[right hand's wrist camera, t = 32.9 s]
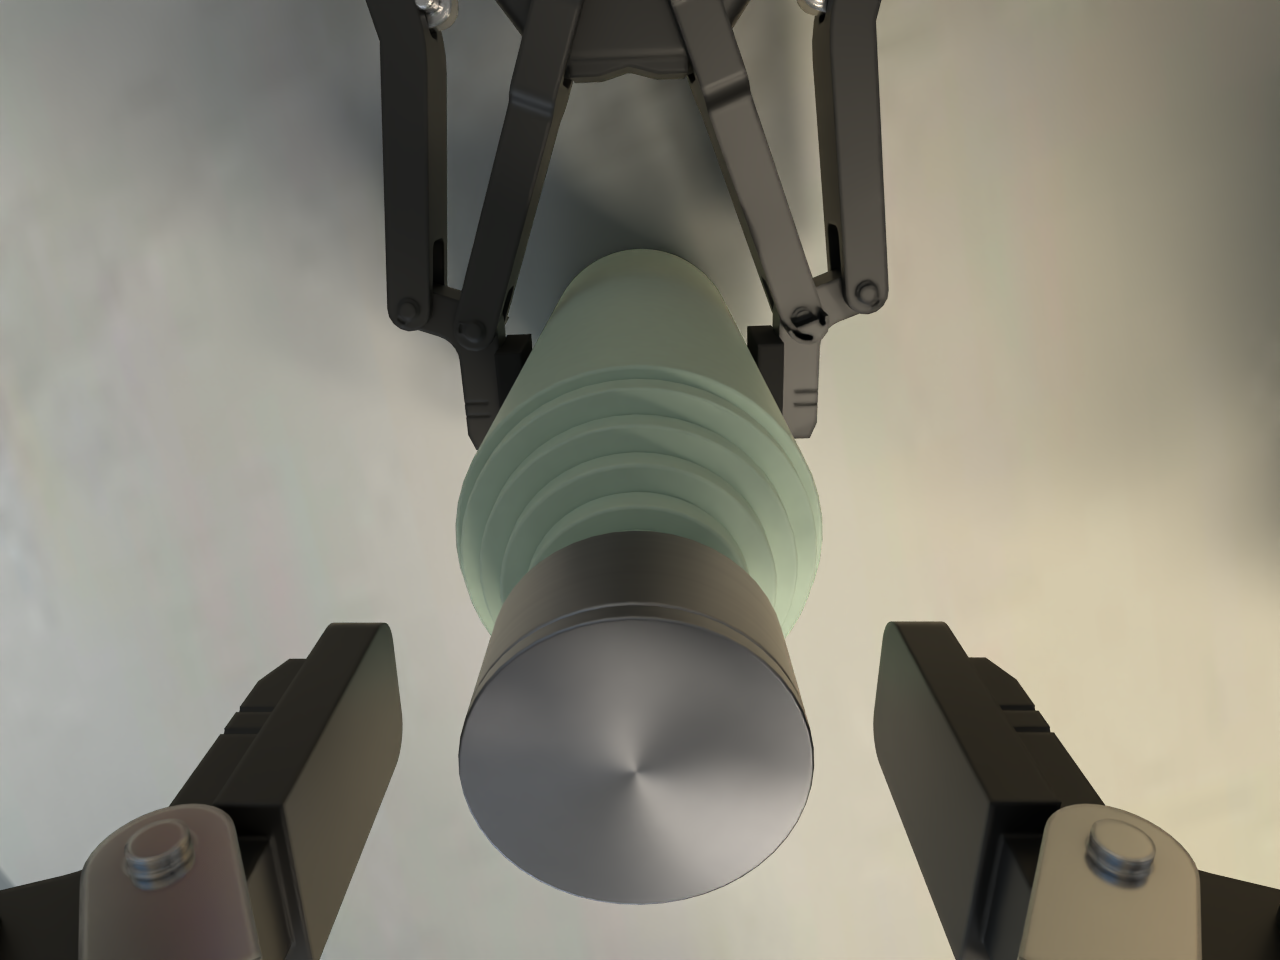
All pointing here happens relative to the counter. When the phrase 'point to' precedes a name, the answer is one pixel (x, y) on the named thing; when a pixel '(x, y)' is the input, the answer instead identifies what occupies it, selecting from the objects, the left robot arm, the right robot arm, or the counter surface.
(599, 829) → the cap
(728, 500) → the bottle
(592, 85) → the counter surface
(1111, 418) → the counter surface
